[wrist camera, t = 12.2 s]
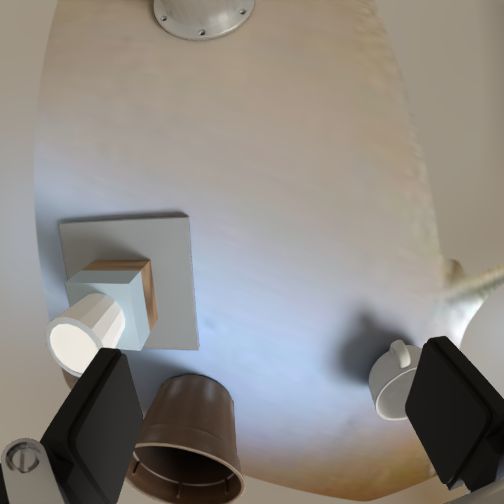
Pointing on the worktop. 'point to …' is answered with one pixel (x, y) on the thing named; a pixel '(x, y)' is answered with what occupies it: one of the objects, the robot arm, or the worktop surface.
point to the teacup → (393, 379)
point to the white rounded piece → (84, 332)
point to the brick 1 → (145, 274)
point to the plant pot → (188, 445)
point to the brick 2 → (123, 292)
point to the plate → (162, 263)
